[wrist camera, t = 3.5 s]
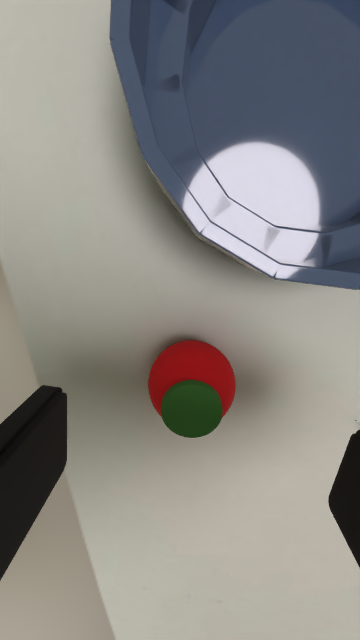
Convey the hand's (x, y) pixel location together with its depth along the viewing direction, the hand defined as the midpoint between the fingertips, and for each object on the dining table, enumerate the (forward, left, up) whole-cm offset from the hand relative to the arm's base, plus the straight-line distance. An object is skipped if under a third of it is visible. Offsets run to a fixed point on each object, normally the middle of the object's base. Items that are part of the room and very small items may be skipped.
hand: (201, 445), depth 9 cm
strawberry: (0, 0, -6) cm, 6 cm away
